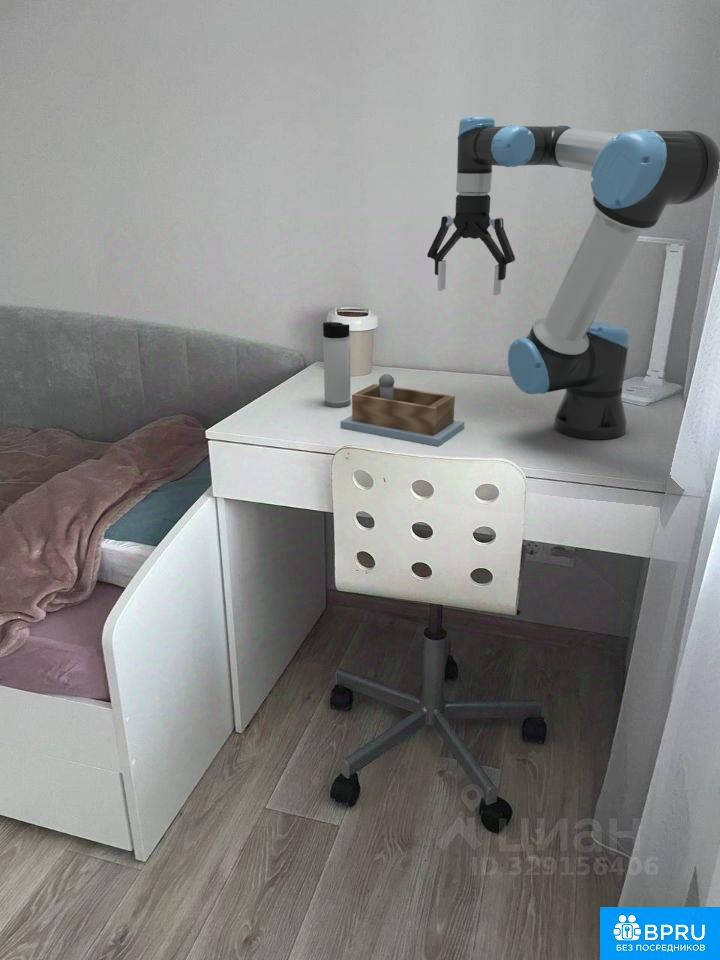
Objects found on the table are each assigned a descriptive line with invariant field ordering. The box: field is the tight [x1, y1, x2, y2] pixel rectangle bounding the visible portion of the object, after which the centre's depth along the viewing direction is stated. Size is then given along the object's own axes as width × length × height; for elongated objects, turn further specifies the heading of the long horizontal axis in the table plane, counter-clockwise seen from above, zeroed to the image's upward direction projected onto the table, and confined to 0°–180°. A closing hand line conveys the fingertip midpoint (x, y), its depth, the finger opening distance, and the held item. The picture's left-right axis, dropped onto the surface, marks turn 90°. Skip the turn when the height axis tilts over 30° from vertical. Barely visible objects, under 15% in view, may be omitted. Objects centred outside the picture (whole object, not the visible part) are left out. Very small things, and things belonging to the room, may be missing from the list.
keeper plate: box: [340, 373, 465, 447], centre depth 173 cm, size 24×13×12 cm, turn 59°
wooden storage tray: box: [351, 383, 456, 436], centre depth 174 cm, size 20×10×6 cm, turn 59°
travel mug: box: [322, 321, 352, 408], centre depth 188 cm, size 6×7×20 cm
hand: (468, 292), depth 182 cm, fingers open, 13 cm apart
